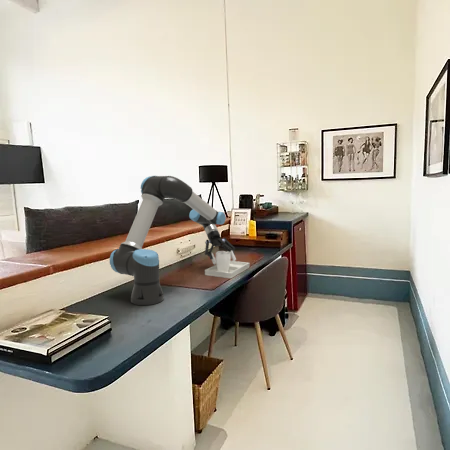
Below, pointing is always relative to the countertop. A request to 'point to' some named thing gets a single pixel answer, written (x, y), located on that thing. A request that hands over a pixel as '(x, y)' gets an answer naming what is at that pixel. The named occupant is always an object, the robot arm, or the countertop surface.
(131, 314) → the countertop surface
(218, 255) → the cup
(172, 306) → the countertop surface
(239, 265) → the tray
